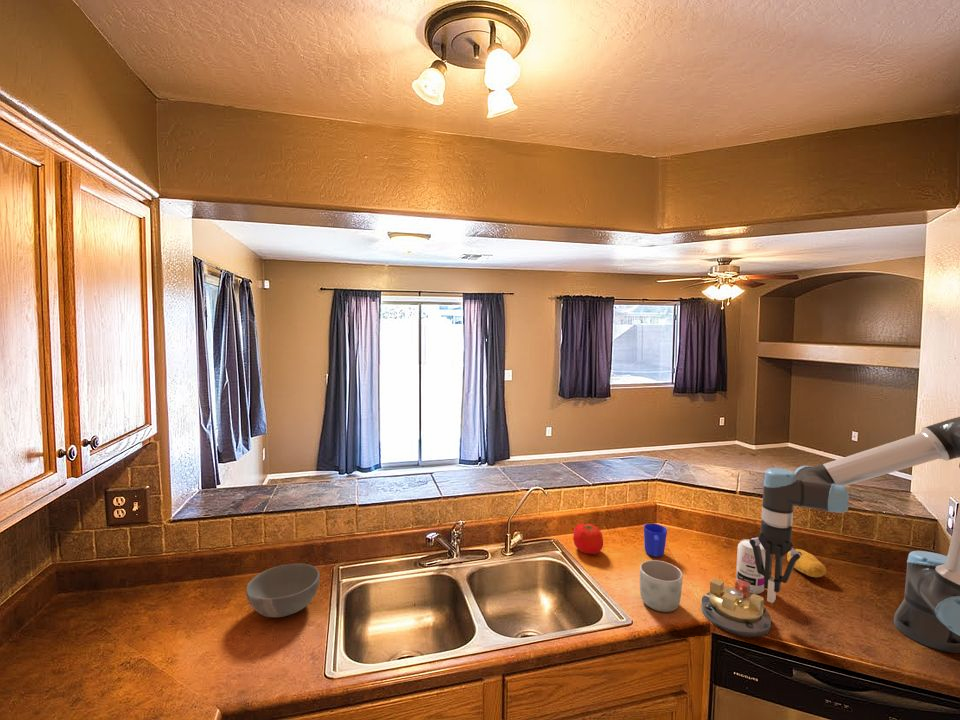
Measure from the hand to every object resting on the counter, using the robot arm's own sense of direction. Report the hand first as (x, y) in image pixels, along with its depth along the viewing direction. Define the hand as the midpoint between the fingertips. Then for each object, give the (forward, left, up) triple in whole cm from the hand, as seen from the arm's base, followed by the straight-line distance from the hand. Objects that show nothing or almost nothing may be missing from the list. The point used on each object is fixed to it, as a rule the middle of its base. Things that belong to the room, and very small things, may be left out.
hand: (771, 600), depth 133 cm
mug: (+41, -11, -7) cm, 43 cm away
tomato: (+60, +5, -7) cm, 60 cm away
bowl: (+100, +104, -7) cm, 145 cm away
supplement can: (+10, -15, -7) cm, 19 cm away
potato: (0, -40, -7) cm, 40 cm away
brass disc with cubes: (+8, +5, -4) cm, 10 cm away
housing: (+8, +5, -6) cm, 11 cm away
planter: (+26, +16, -7) cm, 31 cm away
